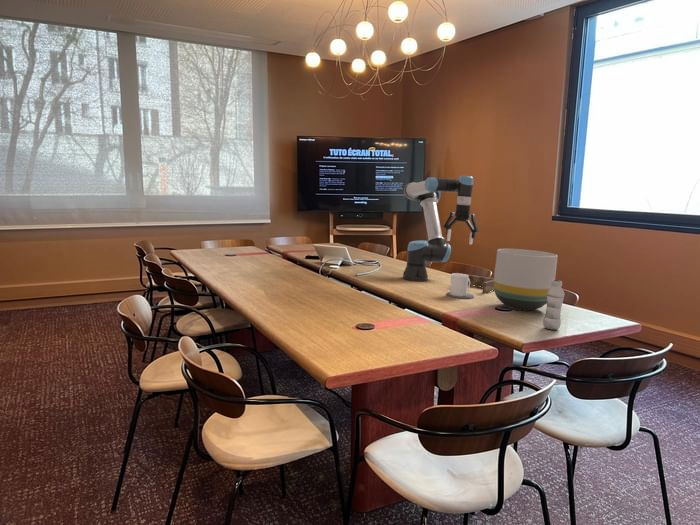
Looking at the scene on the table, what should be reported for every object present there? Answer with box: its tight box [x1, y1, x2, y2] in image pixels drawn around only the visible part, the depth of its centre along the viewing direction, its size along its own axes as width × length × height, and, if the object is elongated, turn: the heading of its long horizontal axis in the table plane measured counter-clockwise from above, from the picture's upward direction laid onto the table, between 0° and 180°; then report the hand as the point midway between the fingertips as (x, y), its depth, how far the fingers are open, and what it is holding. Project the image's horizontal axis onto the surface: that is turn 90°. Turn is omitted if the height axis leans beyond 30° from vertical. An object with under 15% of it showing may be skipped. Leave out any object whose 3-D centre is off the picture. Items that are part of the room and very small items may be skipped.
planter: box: [493, 248, 558, 311], centre depth 223 cm, size 27×27×27 cm
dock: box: [468, 274, 494, 294], centre depth 266 cm, size 18×18×6 cm
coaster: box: [446, 291, 475, 300], centre depth 245 cm, size 14×14×1 cm
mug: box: [449, 272, 471, 297], centre depth 244 cm, size 9×12×11 cm
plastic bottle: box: [542, 279, 566, 331], centre depth 189 cm, size 6×7×20 cm
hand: (459, 242), depth 263 cm, fingers open, 13 cm apart
